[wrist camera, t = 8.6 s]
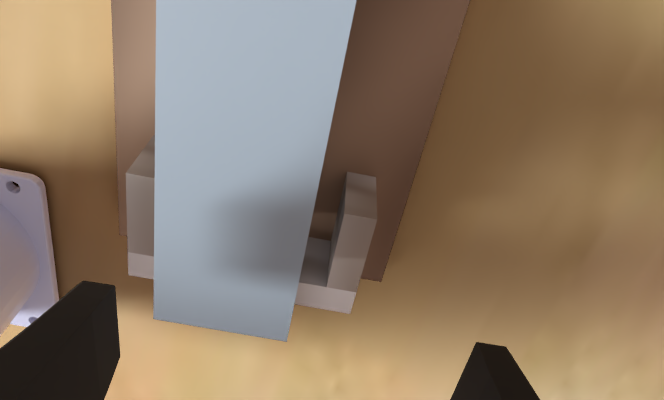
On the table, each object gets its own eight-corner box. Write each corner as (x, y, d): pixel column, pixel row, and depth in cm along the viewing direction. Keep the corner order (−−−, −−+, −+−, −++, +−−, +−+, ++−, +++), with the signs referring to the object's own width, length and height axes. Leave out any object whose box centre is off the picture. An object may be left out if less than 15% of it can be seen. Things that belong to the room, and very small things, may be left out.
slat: (209, 194, 19) (153, 318, 14) (255, -419, 11) (161, -640, 6) (307, 212, 19) (286, 341, 14) (424, -377, 11) (470, -557, 6)
